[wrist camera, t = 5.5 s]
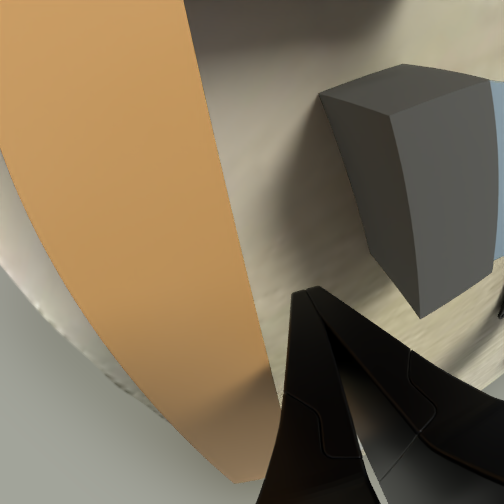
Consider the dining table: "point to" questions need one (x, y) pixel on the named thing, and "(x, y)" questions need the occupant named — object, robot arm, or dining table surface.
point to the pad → (499, 162)
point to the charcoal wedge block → (422, 175)
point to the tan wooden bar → (139, 211)
